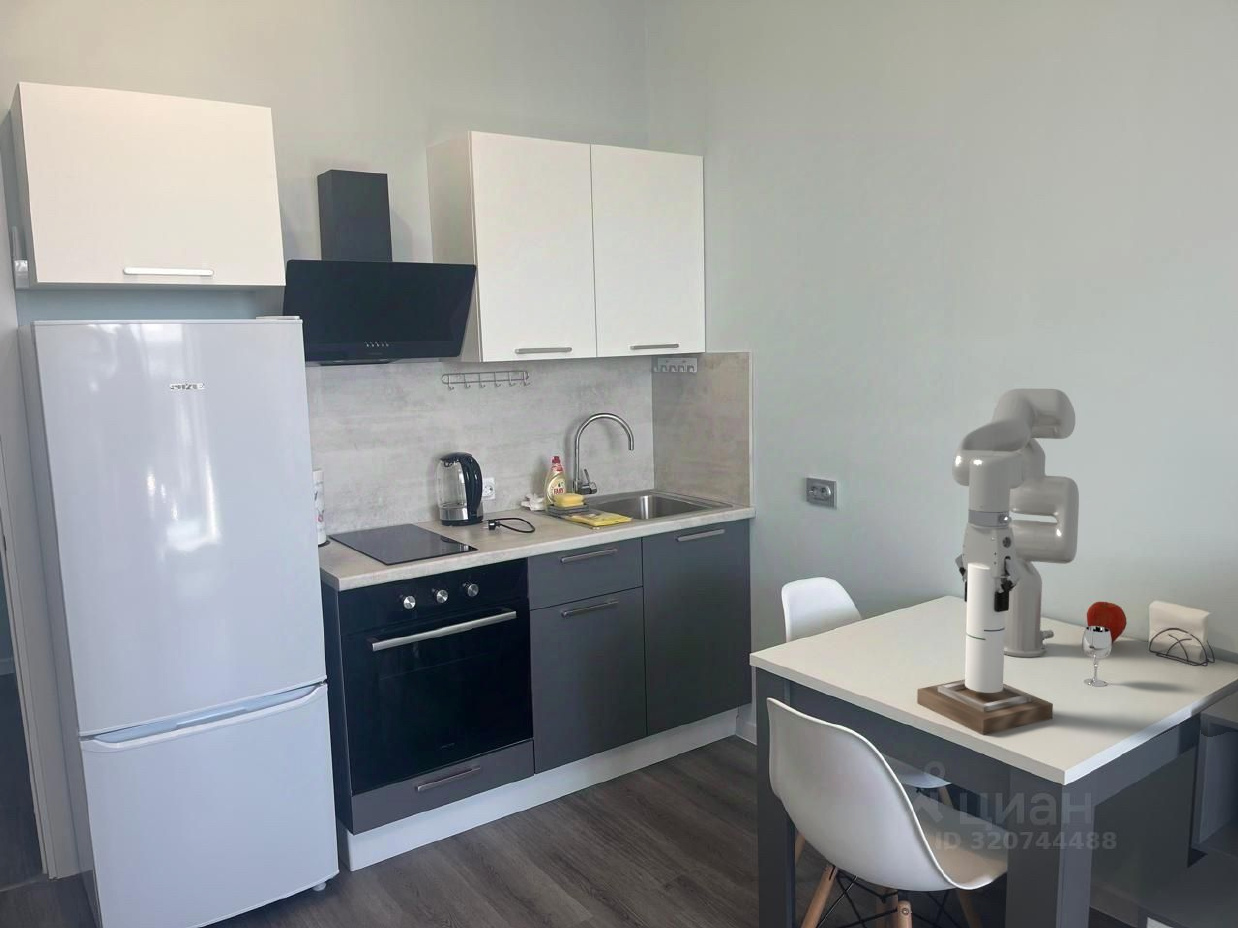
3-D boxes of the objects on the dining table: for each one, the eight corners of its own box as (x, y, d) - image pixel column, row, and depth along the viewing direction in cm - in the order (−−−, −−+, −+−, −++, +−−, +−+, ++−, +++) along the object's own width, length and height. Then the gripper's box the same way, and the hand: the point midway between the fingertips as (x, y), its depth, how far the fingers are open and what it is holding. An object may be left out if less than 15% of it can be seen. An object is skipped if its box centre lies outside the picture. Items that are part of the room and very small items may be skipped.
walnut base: (983, 688, 201) (983, 670, 200) (1052, 718, 185) (1053, 698, 184) (917, 702, 194) (917, 684, 193) (983, 734, 177) (983, 714, 177)
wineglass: (1098, 689, 199) (1101, 634, 198) (1074, 681, 204) (1076, 627, 203) (1116, 684, 202) (1118, 630, 200) (1091, 676, 207) (1094, 623, 206)
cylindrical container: (1006, 693, 184) (1010, 569, 181) (967, 691, 186) (971, 568, 183) (999, 680, 191) (1002, 561, 188) (962, 679, 193) (965, 560, 190)
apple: (1131, 645, 227) (1133, 602, 226) (1113, 652, 222) (1115, 608, 221) (1097, 637, 234) (1098, 595, 233) (1078, 643, 229) (1080, 600, 228)
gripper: (1038, 523, 178) (1035, 614, 180) (970, 510, 194) (968, 593, 196) (1008, 527, 175) (1006, 619, 177) (942, 513, 191) (940, 598, 193)
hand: (986, 605), depth 187 cm, fingers closed on cylindrical container, 7 cm apart
